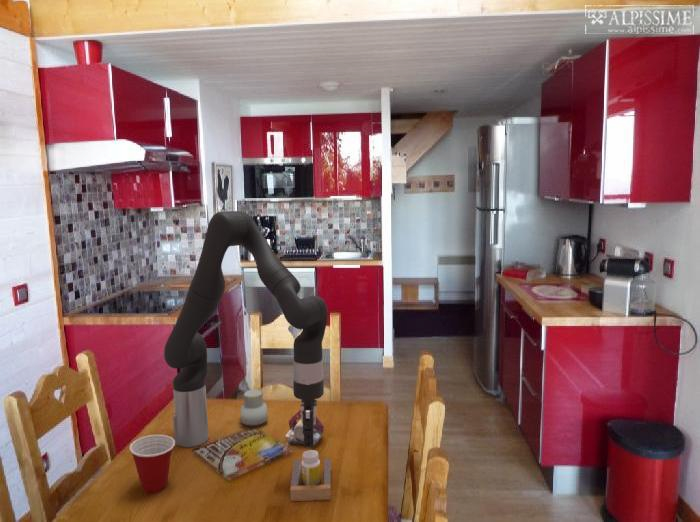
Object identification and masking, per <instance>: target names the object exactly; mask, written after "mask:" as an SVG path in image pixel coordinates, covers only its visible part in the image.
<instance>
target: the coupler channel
mask: <svg viewBox="0 0 700 522" xmlns="http://www.w3.org/2000/svg"><path fill="white" fill-rule="evenodd" d="M292 467H293V468H292V475H291V481H290V490H289V491H290V492H289V493H290V502H305V501H306V502H309V501H328V500H329V501H331V499H332V497H331V496H332V493H331V490H332V489H331V488H332V487H331V481H332V479H331V477H332V476H331V458H324V460H323V484H320V485H306V486H303V485H300V479H301V471H302V468H301V459H294V460H293V466H292Z"/></svg>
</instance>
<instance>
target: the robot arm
mask: <svg viewBox="0 0 700 522" xmlns="http://www.w3.org/2000/svg"><path fill="white" fill-rule="evenodd" d="M236 246H237V247H238V246H241V247H243V248H245V249H246V250H247V251H248V252H249V253H250V254H251V256H252V257H253V258H254V261H255V266H256V271H257V275H258V277H259V279H260V281H261V283H262V284H263V285H264V286H265V287H266V289H267V290H268V291H269V293H270V294H272V296H273V297H274V298H275V299H276V301H277V304H278V306H279V308H280V310H281V312H282V314H283V316H284V318H285V321H286V322H287V323H288V324H289V325H290V326H292V327H293V328H294V329H297V330H301V331H300V334H299V335H297V336H296V337H295V339H294V341H293V364H292V375H293V376H292V377H293V378H292V380H293V382H292V384H293V395H294V397H295V398H296V399H298V400H301V401H300V402H301V403H300V409H301V412H302V413H301V415H302V419H300V420H301V421H302V423H303V431H302V433H303V435H304V444H303V446H304V448H313V447H314V445H313V433H314V426H315V424H316V423H315V422H316V416H317V415H316V413H317V411H318V399H320V398H322V397H323V396H324V393H325V389H324V387H325V382H324V381H325V380H324V379H325V378H324V362H323V340H324V336H325V333H326V328H327V323H328V318H329V317H328V315H329V313H328V312H329V311H328V307H327V304H326V302H325V300H324V299H323V298H322V297H320V296H319V295H310V296H307V297H304V298H300V297H299V295H298V294H299V293H300V290H301V284H300V281H299V280H298V279H297V278H296V276H294V275H293V273H292V272H291V271H290V269H288V268H287V267H286V266H285V264H284V263H283V262H282V261H281V260H280V259H279V257H278V256H277V254H276V253H275V251H274V250H273V249H272V247H271V246H270V244H269V242H268V240H267V239H266V237H265V236H264V234H263V232H262V231H261V229H260V228H259V226H258V225H257V223H256V221H255V220H254V219H253V217H252V216H250V214H248V213H247V212H245V211H242V210H241V211H240V210H227V211H225V210H223V211H218V212H216V213H215V214H213V215H212V216H211V218H210V219H209V222H208V225H207V228H206V233H205V236H204V241H203V244H202V248H201V249H202V250H201V252H200V253H201V254H200V256H199V259H198V264H197V266H196V268H195V269H196V270H195V273H194V274H193V278H192V280H191V281H190V282H191V283H190V284H189V287H188V291H187V292H186V296H185V299H184V302H183V305H182V308H181V310H180V312H179V315H178V317H177V320H176V322H175V324H174V327H173V328H172V330H171V332H170V334H169V336H168V338H167V340H166V342H165V344H164V350H163V355H164V360H165V363H166V364H167V366H168V367H170V368H172V369H177V370H178V369H181V370H180V371H179V372H178V373H177V374H176V376H174V378H173V380H172V388H173V389H172V391H173V405H174V413H173V415H172V423H173V434H174V435H173V437H174V438H173V439H174V440H175V446H178V447H183V448H194V447H198V446H201V445H203V444H205V443H206V442H208V440H209V439H210V438H209V435H210V434H209V421H208V406H207V405H208V404H207V403H208V402H207V391H206V389H207V387H206V378H207V377H208V376H207V375H208V348H207V343H206V340H205V339H204V336H203V335H202V334H201V333H199V332H198V331H199V330H200V329H201V328H203V326H204V325H205V324H206V323H207V322H208V321H209V319H210V318H211V317H212V316H213V315H214V313H215V312H216V311H217V310H218V308H219V305H220V304H221V301H222V298H223V296H224V293H225V290H226V280H225V276H224V272H223V269H222V265H223V264H222V263H223V261H224V257H225V256H226V255H225V254H226V252H227V251H228V249H229V248H230V247H236Z"/></svg>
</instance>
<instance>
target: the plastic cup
mask: <svg viewBox="0 0 700 522" xmlns="http://www.w3.org/2000/svg"><path fill="white" fill-rule="evenodd" d="M175 446H176V445H175V439H174V438H173V437H172V436H170V435H167V434H149V435H145V436H142V437H139V438H137V439H135V440H134V441H133V442H131V444H130V445H129V451H130V452H131V454H132V455H131V456H132V458H133V461H134V464H135V467H136V471H137V474H138V479H139V481H140V485H141V488H142V490H143V492H144V493H146V494H155V493H159V492H161V491H163V490H165V489H166V487H167V485H168V479H169V472H170V464H171V463H170V462H171V456H172V452H173V449H174V447H175Z"/></svg>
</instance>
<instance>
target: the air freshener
mask: <svg viewBox="0 0 700 522" xmlns="http://www.w3.org/2000/svg"><path fill="white" fill-rule="evenodd" d="M263 400H264V399H263V392H262V391H261V390H259V389H248V390H247V391H245V392H244V393H243V403H244V404H243V405H241V406H240V415H241V416H240V419H241V421H240V422H241V424H243V425H246V426H258V425H262V424H264V423H265V422H267V421H268V417H269V416H268V406H267V403H266V402H264V401H263Z"/></svg>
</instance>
